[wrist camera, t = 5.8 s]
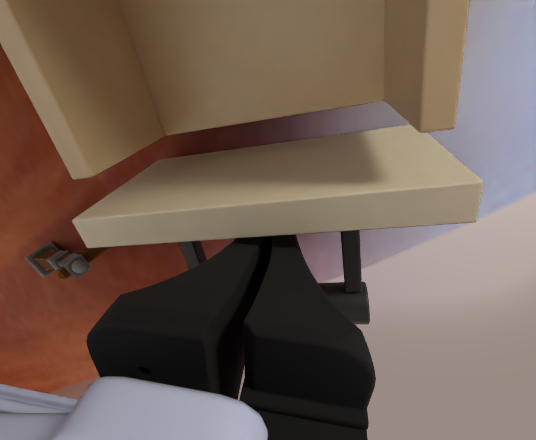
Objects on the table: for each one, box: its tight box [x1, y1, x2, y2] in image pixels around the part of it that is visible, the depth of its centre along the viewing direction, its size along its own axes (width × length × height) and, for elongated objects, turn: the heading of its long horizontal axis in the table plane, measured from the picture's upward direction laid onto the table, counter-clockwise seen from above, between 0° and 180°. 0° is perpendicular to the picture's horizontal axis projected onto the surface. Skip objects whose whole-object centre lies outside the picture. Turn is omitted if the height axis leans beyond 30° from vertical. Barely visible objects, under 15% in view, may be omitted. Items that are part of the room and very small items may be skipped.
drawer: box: [0, 0, 483, 324], centre depth 10 cm, size 20×12×6 cm, turn 10°
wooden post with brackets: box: [25, 242, 109, 279], centre depth 19 cm, size 2×8×4 cm, turn 115°
